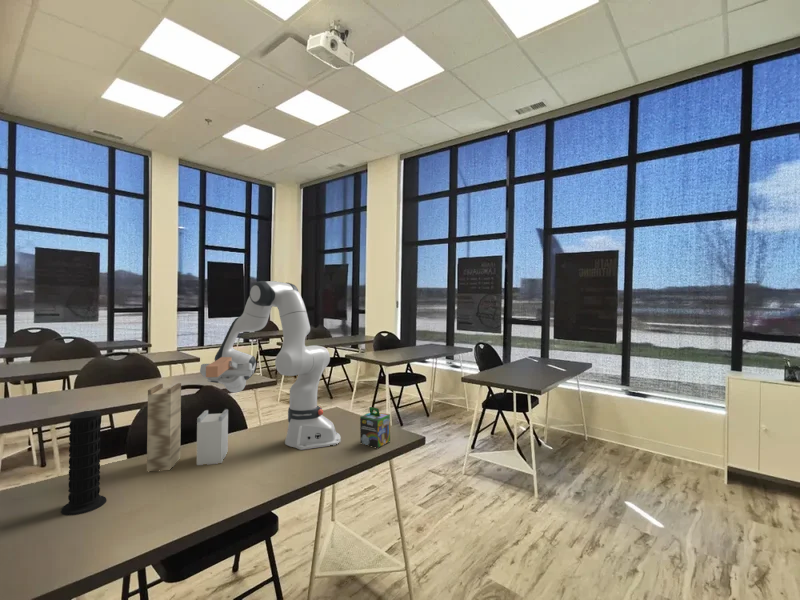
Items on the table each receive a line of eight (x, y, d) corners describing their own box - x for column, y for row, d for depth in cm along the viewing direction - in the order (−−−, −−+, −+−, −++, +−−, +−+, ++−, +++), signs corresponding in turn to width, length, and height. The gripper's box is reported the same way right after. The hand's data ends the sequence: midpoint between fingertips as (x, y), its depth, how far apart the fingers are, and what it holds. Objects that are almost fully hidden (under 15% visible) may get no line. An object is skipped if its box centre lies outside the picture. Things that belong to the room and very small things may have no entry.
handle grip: (50, 514, 104) (87, 515, 104) (51, 416, 104) (88, 416, 104) (81, 496, 114) (115, 496, 114) (82, 405, 114) (116, 406, 114)
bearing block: (180, 458, 141) (181, 383, 141) (169, 470, 131) (170, 389, 132) (158, 460, 140) (159, 383, 140) (146, 472, 130) (147, 390, 130)
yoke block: (227, 452, 147) (228, 409, 147) (221, 463, 138) (221, 416, 138) (204, 454, 146) (205, 410, 146) (196, 465, 136) (197, 418, 136)
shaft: (231, 366, 164) (231, 356, 164) (217, 377, 143) (217, 366, 143) (221, 366, 163) (221, 357, 163) (205, 377, 142) (205, 366, 142)
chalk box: (390, 442, 160) (391, 406, 160) (377, 449, 153) (378, 411, 153) (372, 437, 165) (373, 402, 165) (359, 444, 158) (359, 407, 158)
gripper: (254, 380, 171) (249, 369, 159) (204, 382, 167) (195, 370, 155) (255, 367, 174) (251, 355, 162) (206, 368, 170) (198, 356, 158)
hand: (223, 362), depth 159 cm, fingers closed on shaft, 4 cm apart
